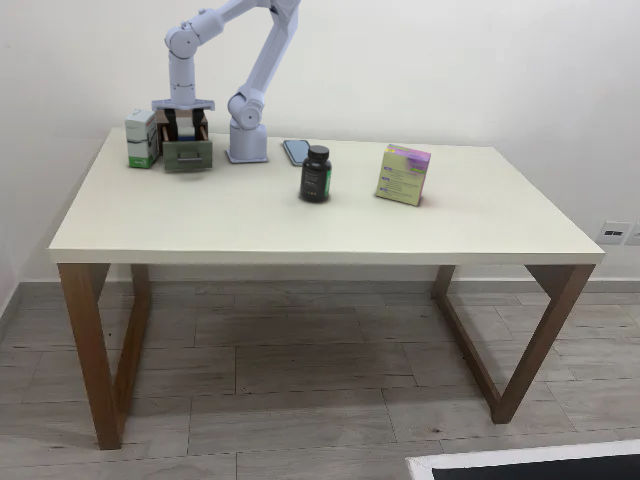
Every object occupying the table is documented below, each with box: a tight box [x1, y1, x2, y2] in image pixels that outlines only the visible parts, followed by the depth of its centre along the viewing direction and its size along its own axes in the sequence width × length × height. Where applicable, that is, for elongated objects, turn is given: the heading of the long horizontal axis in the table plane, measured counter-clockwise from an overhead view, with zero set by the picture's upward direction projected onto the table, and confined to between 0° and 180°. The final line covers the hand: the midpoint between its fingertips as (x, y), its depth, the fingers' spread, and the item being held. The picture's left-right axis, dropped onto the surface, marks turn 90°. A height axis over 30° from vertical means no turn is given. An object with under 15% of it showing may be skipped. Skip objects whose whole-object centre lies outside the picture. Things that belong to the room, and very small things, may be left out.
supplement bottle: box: [299, 144, 333, 204], centre depth 114 cm, size 7×7×12 cm
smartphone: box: [282, 139, 311, 167], centre depth 137 cm, size 7×1×15 cm
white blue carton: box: [176, 117, 195, 142], centre depth 122 cm, size 4×7×6 cm, turn 19°
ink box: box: [124, 108, 159, 169], centre depth 121 cm, size 9×5×12 cm, turn 179°
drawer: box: [162, 125, 214, 171], centre depth 122 cm, size 17×11×7 cm
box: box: [375, 143, 432, 207], centre depth 119 cm, size 10×6×12 cm, turn 71°
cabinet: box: [154, 110, 209, 156], centre depth 133 cm, size 14×13×9 cm
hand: (185, 138), depth 123 cm, fingers closed on white blue carton, 4 cm apart
